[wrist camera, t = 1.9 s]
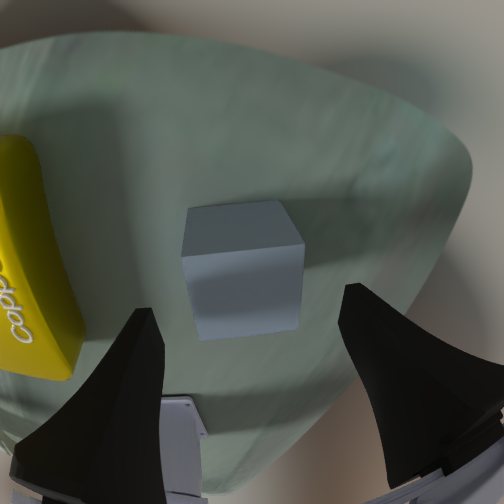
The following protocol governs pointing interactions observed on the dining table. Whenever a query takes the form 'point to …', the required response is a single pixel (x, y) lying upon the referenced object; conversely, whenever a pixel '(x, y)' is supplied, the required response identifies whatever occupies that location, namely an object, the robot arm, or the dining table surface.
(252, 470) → the dining table surface
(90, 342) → the dining table surface
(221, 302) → the slate-blue cube
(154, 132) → the dining table surface
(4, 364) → the element tile
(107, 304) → the dining table surface
